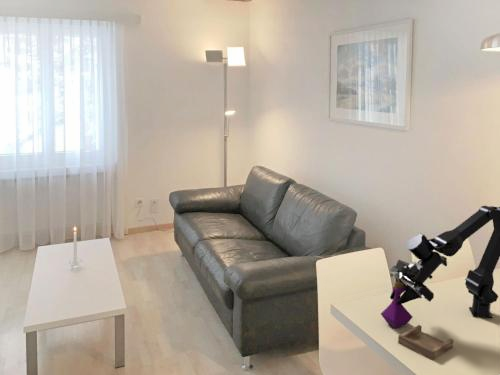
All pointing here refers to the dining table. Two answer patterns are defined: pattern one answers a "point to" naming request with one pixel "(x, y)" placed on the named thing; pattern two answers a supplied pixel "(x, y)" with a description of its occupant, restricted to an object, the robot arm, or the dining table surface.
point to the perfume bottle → (396, 307)
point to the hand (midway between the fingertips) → (394, 301)
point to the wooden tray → (424, 343)
